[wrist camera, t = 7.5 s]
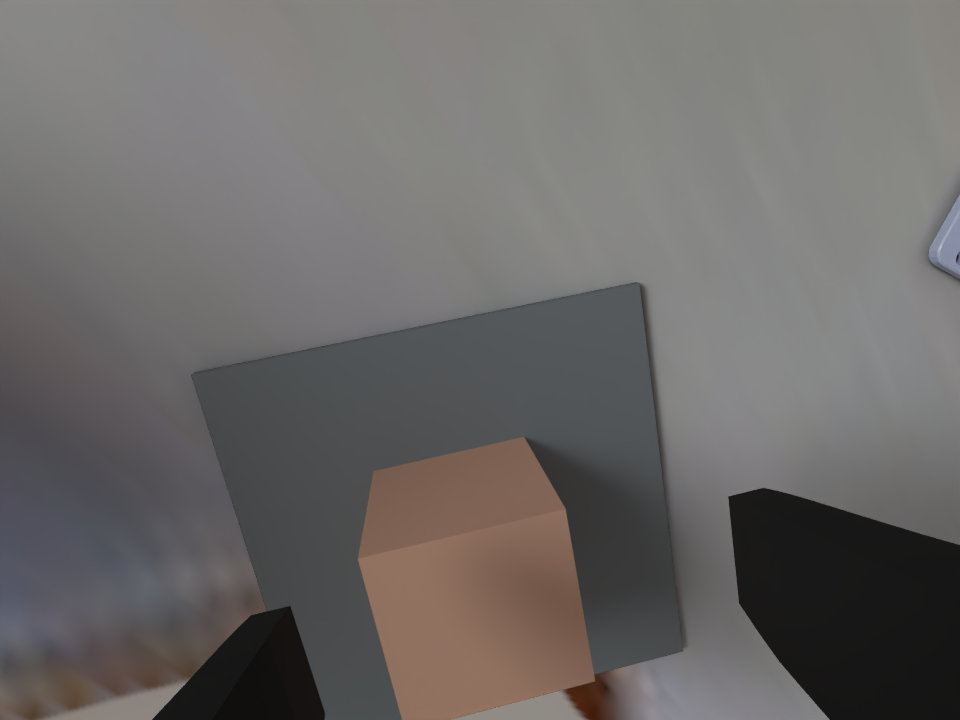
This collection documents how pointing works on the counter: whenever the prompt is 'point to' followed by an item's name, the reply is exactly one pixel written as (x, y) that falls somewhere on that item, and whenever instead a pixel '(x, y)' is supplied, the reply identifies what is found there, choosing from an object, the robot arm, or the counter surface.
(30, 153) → the counter surface
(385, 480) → the cube
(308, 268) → the counter surface
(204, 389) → the panel
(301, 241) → the counter surface
